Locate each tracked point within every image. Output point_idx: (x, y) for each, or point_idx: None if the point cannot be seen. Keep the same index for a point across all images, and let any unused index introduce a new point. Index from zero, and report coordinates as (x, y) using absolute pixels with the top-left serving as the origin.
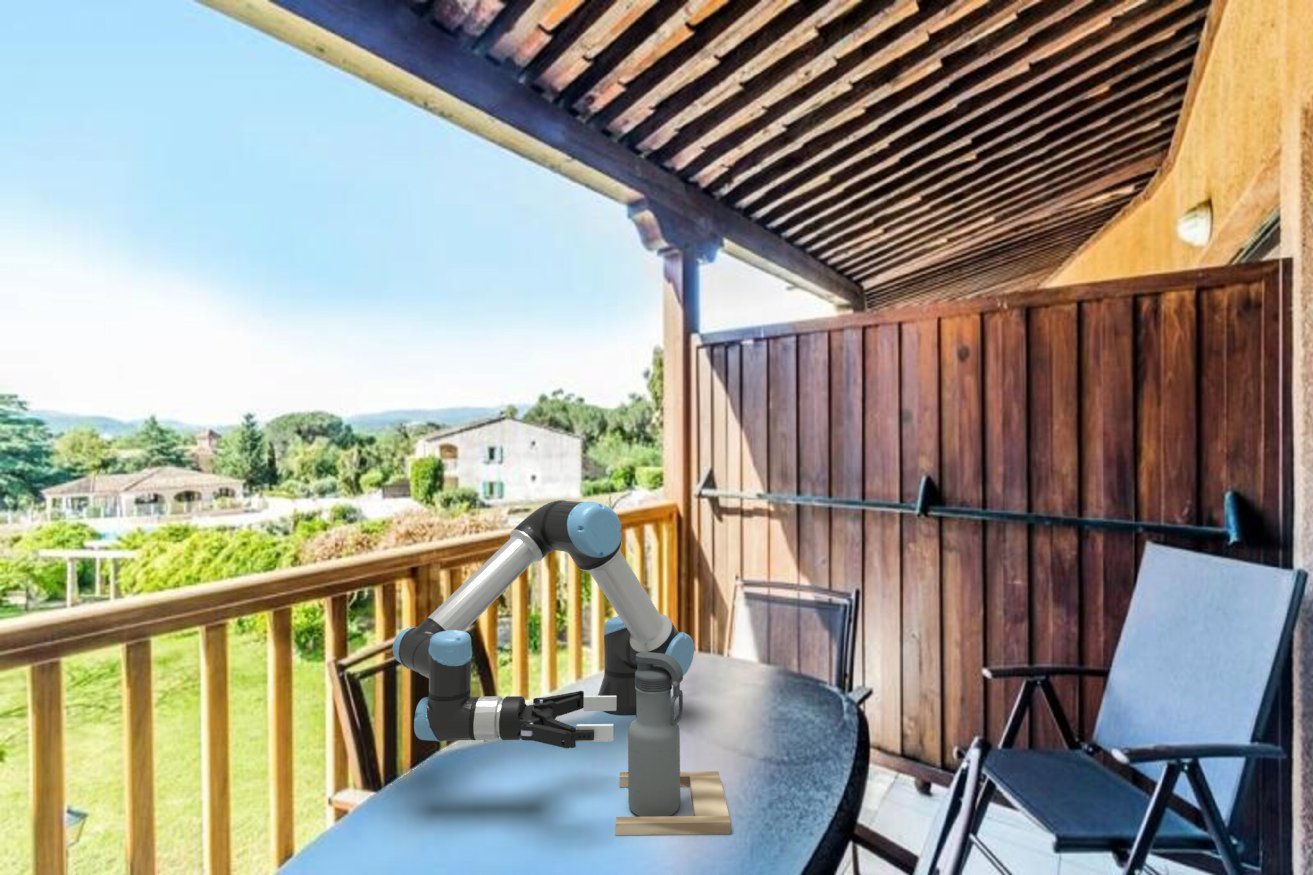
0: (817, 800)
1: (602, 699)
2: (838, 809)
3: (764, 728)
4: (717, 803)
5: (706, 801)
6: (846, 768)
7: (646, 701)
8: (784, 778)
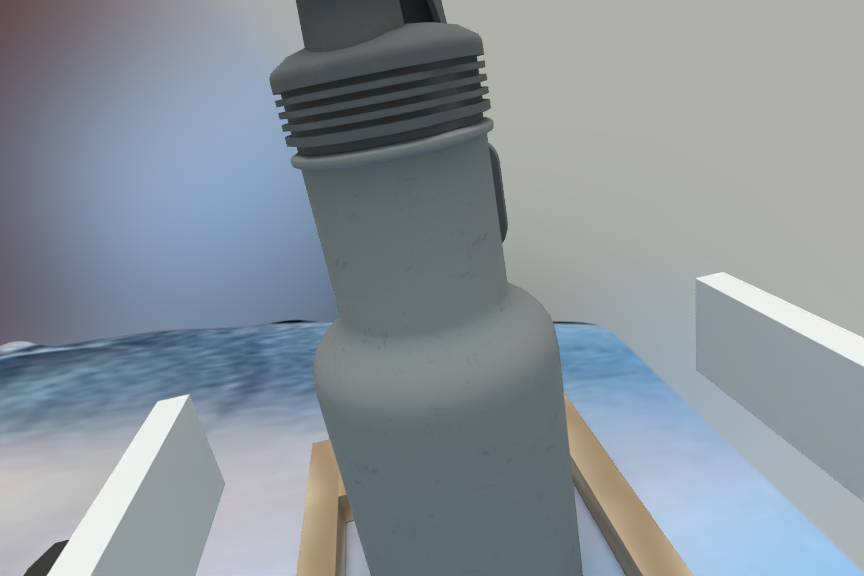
0: None
1: (155, 490)
2: None
3: (64, 431)
4: None
5: None
6: (294, 326)
7: (490, 175)
8: None
